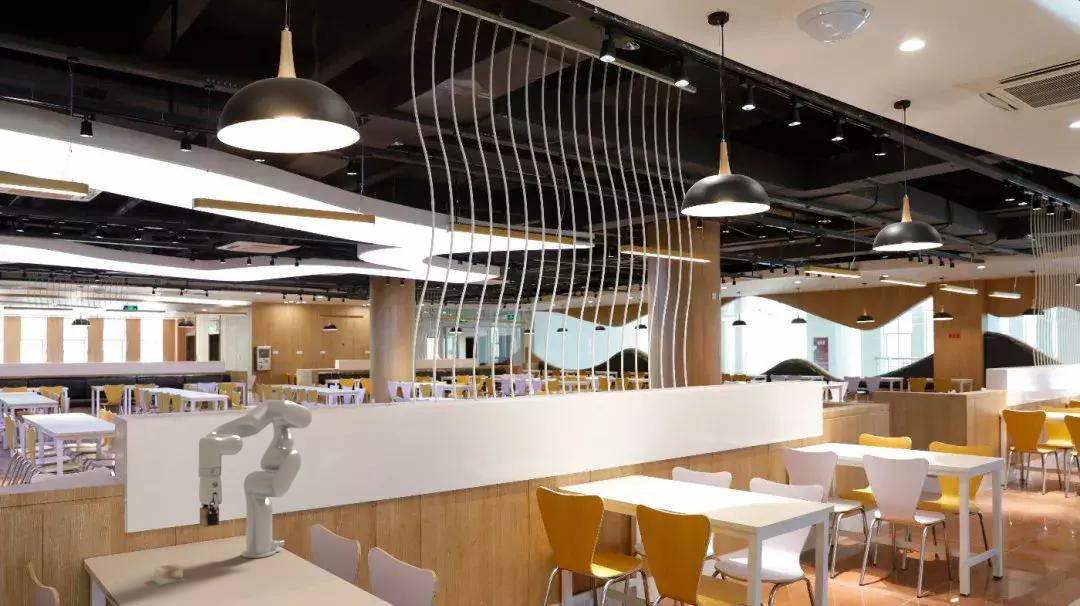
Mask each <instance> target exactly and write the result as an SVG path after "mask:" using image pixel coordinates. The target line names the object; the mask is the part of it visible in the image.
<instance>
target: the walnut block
mask: <svg viewBox="0 0 1080 606" xmlns="http://www.w3.org/2000/svg"><path fill="white" fill-rule="evenodd" d="M212 507H213V506H211V508H212ZM208 514H209V511H208V507H203V508H202V507H199V526H201V527H203V528H208V527H209V528H210V527H214V526H219V525H220V507H218V513H217V524H215V525H208V524H207V522H208Z"/></svg>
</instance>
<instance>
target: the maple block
mask: <svg viewBox="0 0 1080 606" xmlns="http://www.w3.org/2000/svg"><path fill="white" fill-rule="evenodd" d="M183 578H184V567H183V566H181V565H179V564H177V563H173V564H171V563H170V564H167V565H161V566H157V567H154V579H155V580H156V581H158V582H159V583H160V584H162V585H164V584H163V583H167V584H169V583H168V582H172V583H174V582H173V581H177V582H179V581H178V580H182V581H184V580H183Z"/></svg>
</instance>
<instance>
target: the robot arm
mask: <svg viewBox="0 0 1080 606" xmlns="http://www.w3.org/2000/svg"><path fill="white" fill-rule="evenodd" d="M312 419H313V415H312V412H311V410H310V409H309V408H308V407H307V406H304V405H301V404H298V403H296V402H293V401H291V400H288V399H266V400H264V401H262V402H261V403H258V405H256V406H255V407H254V408H252V409H251V410H250V411H249V412H248V413H246V414H245V415H243V416H241V417H237V418H235V419H232V420H231V421H228V422H225V423H223V424H221V425H219V426H218V427H216V428H214V429H213V430H212V431H211V432H209V433H208V434H207V435H206V436H204V437H202V438H200V439H199V441H198V478H199V489H198V490H199V491H198V492H199V493H198V494H199V495H198V497H199V498H198V499H199V503H201V508H203V507H208V511H209V514H208V522H207V524H208V525H215V524H217V513H218V508H220V505H221V504H222V503H223V491H222V490H223V489H222V487H223V486H222V480H221V476H222V458H223V457H222V456H234V455H236V454H238V453H240V452H241V450H242V449H243V446H244V442H243V438H248V437H251V436H255V435H257V434H260V433H261V431H262V430H263V429H266V427H267V426H269V425H271V423H272V426H273V427H272V429H273V437H272V439H271V441H270V443H269V445H268V446H267V449H266V450H265V451H264V453H263V455H262V457H261V459H260V462H259V464H260V468H261V470H256V471H252V472H250V473H248V474H247V475H246V476H245V479H244V481H243V489H244V494H245V495H244V496H245V501H246V505H245V506H246V507H245V508H246V515H245V516H246V517H245V518H246V520H245V521H246V524H245V526H246V527H245V537H246V538H245V540H246V541H245V549H244V550H242V552H241V556H242V557H243V558H248V559H256V558H257V559H258V558H259V559H261V558H265V557H266V558H267V557H270V556H272V555H275V554H276V553H277V547H281V546H284V545H285V540H284V539H283V540H279V539H278V540H274V539H273V503H272V501H271V498H281V497H283V496H285V495H286V494H287V493H288V491H289V489H291V486H292V483H293V482H294V480H295V478H296V476H297V474H298V472H299V471H300V468H301V464H302V457H301V454H300V452H298V450H295V449H292V448H293V447H294V444H295V440H294V436H293V434H292V429H305V428H308V427H309V426H310V425H311V423H312ZM211 506H213V507H212V508H211ZM215 526H216V525H215Z"/></svg>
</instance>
